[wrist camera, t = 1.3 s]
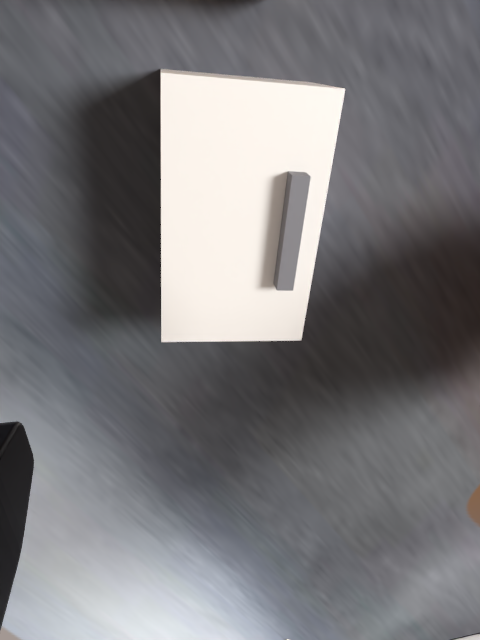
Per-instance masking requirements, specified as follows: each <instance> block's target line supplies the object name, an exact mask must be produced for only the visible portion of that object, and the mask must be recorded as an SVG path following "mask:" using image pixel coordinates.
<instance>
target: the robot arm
mask: <svg viewBox="0 0 480 640" xmlns="http://www.w3.org/2000/svg"><path fill="white" fill-rule="evenodd" d="M33 468H34V458H33V453H32V450H31V447H30V444H29V441H28V438H27V435H26V432H25V429H24V426H23V425H22V424H21V423H20V422H7V423H0V630H1V626H2V622H3V619H4V615H5V611H6V607H7V604H8V600H9V596H10V592H11V588H12V585H13V581H14V577H15V573H16V570H17V566H18V562H19V557H20V553H21V549H22V543H23V537H24V530H25V523H26V516H27V509H28V503H29V496H30V489H31V482H32V475H33Z"/></svg>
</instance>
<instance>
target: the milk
mask: <svg viewBox="0 0 480 640" xmlns="http://www.w3.org/2000/svg"><path fill="white" fill-rule="evenodd" d="M453 640H480V634H476V635H471V636H467V637H462V638H458V639H453Z"/></svg>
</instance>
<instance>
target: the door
mask: <svg viewBox="0 0 480 640" xmlns="http://www.w3.org/2000/svg"><path fill="white" fill-rule="evenodd" d="M344 93H345V89H344V88H338V87H333V86H328V85H322V84H317V83H312V82H302V81H290V80H279V79H268V78H257V77H246V76H234V75H223V74H212V73H201V72H189V71H178V70H167V69H161V342H210V341H301V339H302V334H303V328H304V322H305V317H306V311H307V305H308V299H309V294H310V288H311V282H312V276H313V271H314V265H315V259H316V253H317V248H318V242H319V236H320V231H321V225H322V219H323V213H324V208H325V202H326V196H327V190H328V185H329V179H330V173H331V167H332V162H333V156H334V150H335V145H336V139H337V133H338V127H339V122H340V116H341V110H342V104H343V99H344Z"/></svg>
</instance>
